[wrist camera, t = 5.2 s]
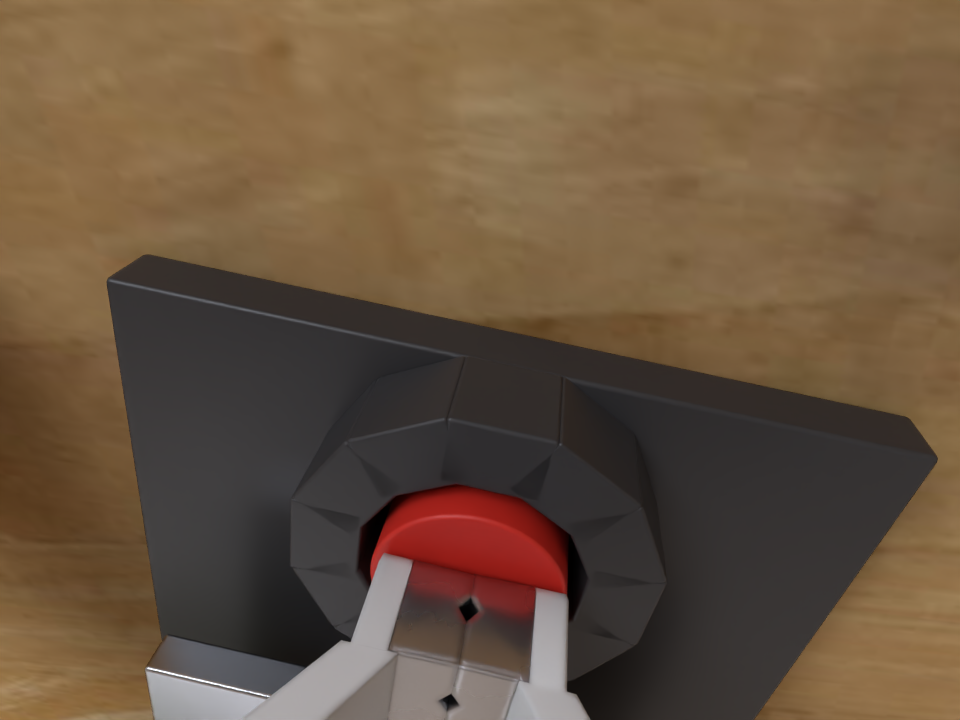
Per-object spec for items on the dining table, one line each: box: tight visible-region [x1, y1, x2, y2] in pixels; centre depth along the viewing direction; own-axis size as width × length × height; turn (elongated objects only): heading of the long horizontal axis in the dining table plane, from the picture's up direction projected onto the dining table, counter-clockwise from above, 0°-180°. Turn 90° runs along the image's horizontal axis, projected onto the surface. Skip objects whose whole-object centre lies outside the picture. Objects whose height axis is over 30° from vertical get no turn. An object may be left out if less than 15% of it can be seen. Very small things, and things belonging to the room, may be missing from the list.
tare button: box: [370, 484, 569, 595], centre depth 11 cm, size 3×3×2 cm
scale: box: [107, 255, 938, 720], centre depth 15 cm, size 18×14×3 cm
